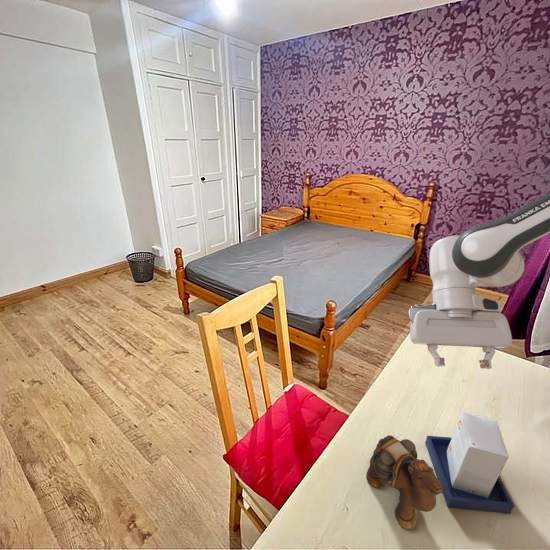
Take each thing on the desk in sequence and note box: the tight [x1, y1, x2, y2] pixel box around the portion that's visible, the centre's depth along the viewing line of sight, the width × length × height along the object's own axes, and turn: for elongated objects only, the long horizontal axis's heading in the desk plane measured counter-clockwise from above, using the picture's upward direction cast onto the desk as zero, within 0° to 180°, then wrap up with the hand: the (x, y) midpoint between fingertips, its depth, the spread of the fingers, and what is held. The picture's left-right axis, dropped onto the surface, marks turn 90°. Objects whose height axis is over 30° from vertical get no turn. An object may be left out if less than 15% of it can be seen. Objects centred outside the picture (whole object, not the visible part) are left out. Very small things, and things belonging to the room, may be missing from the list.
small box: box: [447, 411, 510, 498], centre depth 60 cm, size 8×6×13 cm
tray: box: [424, 435, 515, 514], centre depth 63 cm, size 11×13×3 cm
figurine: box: [365, 435, 442, 530], centre depth 58 cm, size 9×15×15 cm, turn 26°
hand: (462, 367), depth 66 cm, fingers open, 8 cm apart
